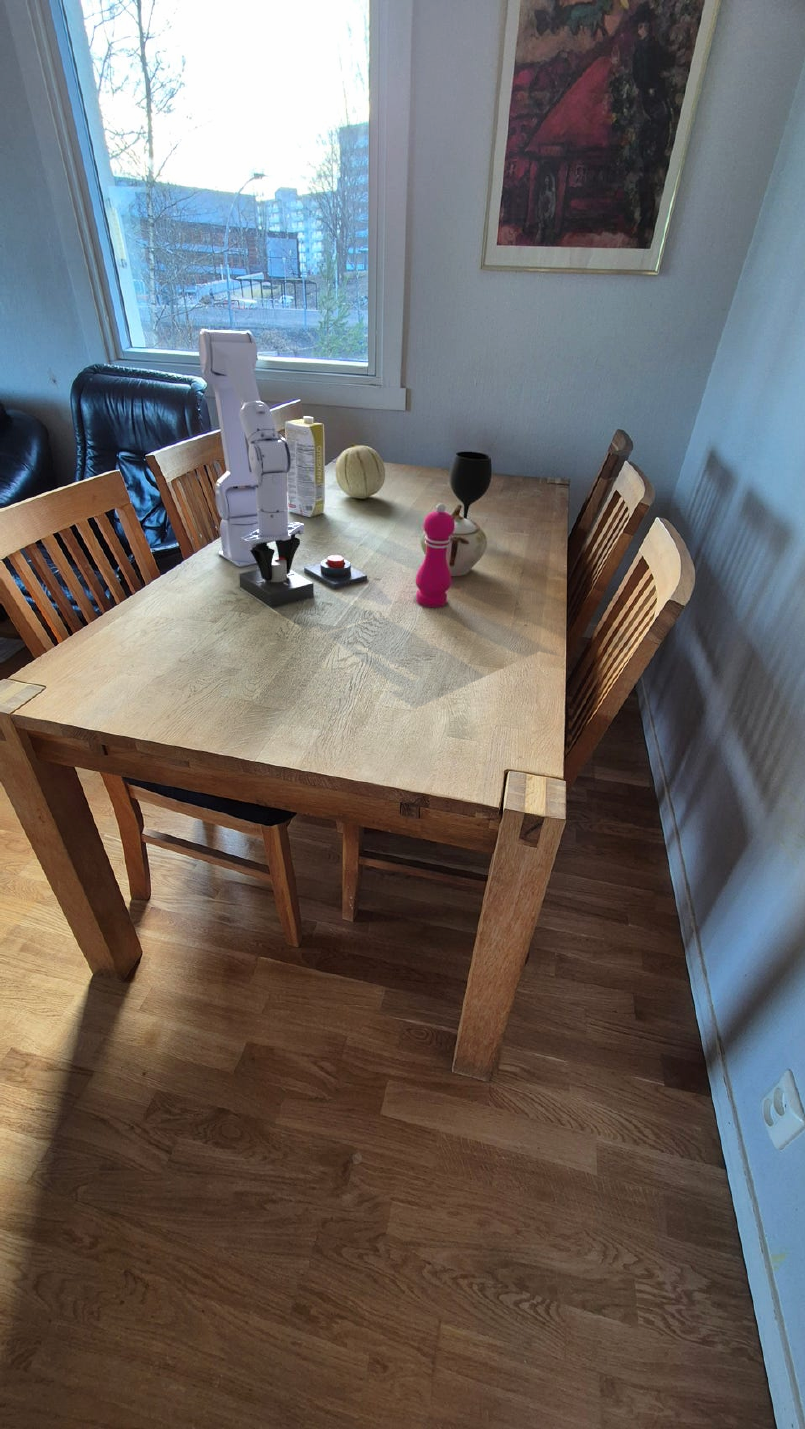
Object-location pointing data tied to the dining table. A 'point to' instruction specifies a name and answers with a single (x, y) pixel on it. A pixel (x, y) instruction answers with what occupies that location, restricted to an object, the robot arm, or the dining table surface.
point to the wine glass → (470, 477)
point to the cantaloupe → (360, 471)
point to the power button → (335, 561)
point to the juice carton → (306, 466)
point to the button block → (335, 574)
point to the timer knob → (279, 569)
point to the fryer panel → (276, 588)
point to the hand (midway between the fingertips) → (275, 575)
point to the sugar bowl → (462, 545)
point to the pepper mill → (435, 559)
